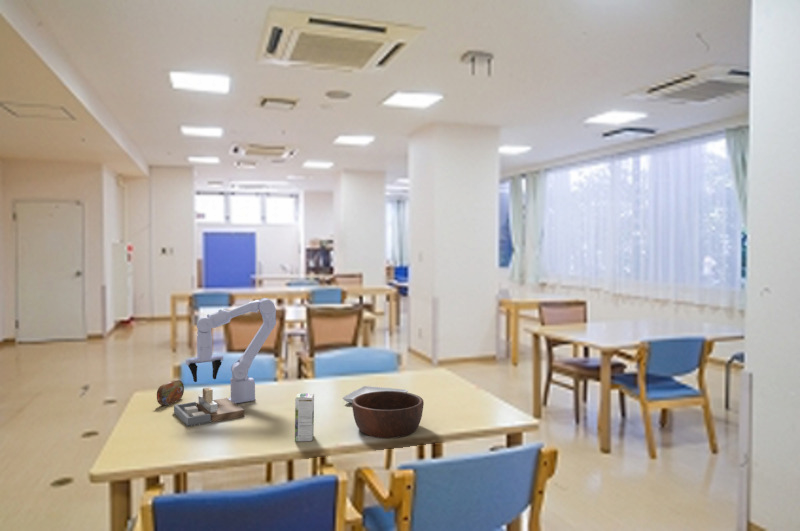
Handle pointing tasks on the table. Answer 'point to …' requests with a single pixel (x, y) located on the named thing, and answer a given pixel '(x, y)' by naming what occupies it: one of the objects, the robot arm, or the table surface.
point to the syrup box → (304, 417)
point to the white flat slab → (208, 400)
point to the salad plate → (368, 389)
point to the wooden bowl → (387, 413)
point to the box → (187, 418)
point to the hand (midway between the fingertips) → (204, 380)
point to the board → (223, 410)
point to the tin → (170, 392)
